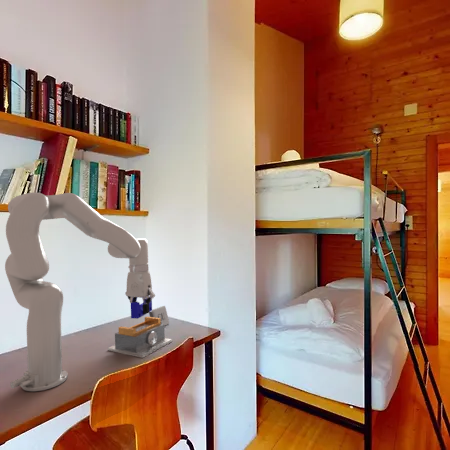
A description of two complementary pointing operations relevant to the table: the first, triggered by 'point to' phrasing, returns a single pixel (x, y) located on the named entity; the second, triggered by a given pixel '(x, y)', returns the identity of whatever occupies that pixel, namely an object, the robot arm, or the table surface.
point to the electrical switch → (160, 314)
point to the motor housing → (140, 338)
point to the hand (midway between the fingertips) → (140, 312)
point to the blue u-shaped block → (138, 309)
